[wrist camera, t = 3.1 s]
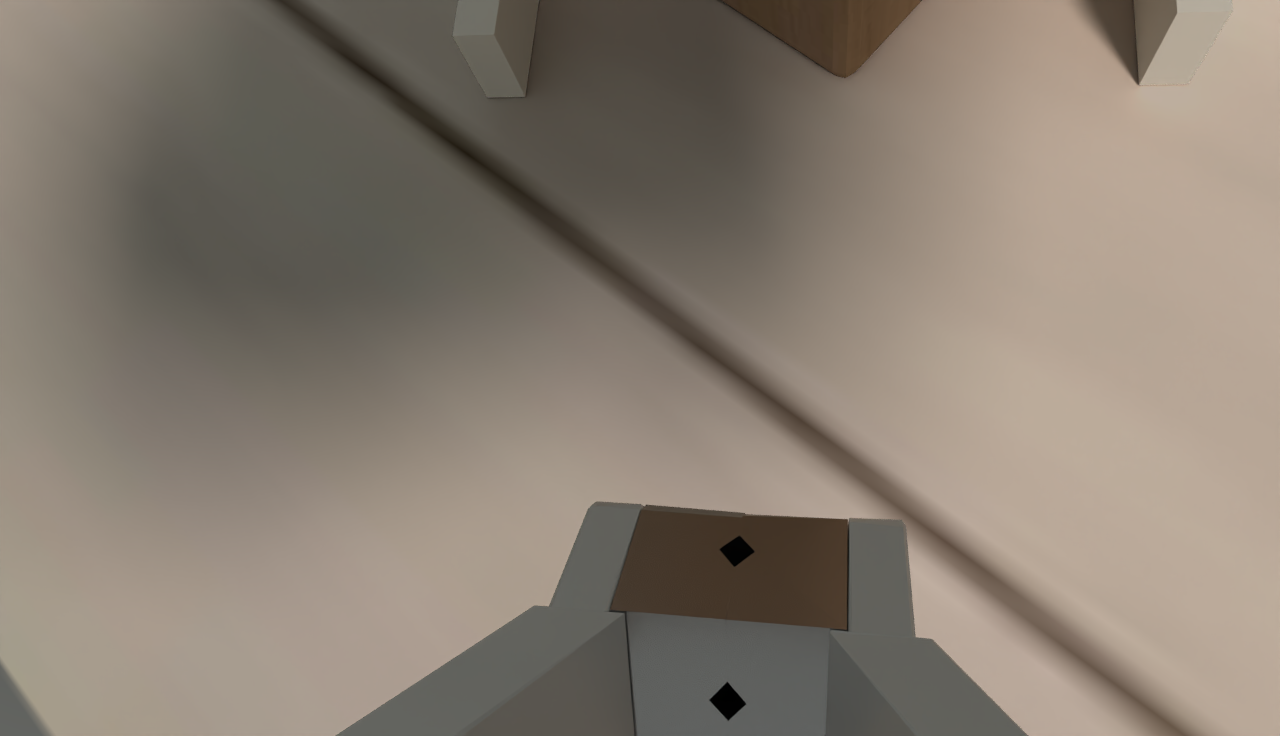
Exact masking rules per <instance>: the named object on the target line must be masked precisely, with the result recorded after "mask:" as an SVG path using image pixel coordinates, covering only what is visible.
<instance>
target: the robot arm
mask: <svg viewBox="0 0 1280 736" xmlns="http://www.w3.org/2000/svg"><path fill="white" fill-rule="evenodd" d="M336 736H1028V735H1027V734H1026V733H1025V732H1024V731H1023V730H1022V729H1021V728H1020V727H1019V726H1018V725H1017V724H1016V723H1015V722H1014V721H1013V720H1012V719H1011V718H1010V717H1009V716H1008V715H1007V714H1006V713H1005V712H1004V711H1003V710H1002V709H1001V708H1000V707H999V706H998V705H997V704H996V703H995V702H994V701H993V700H992V699H991V698H990V697H989V696H988V695H987V694H986V693H985V692H984V691H983V690H982V689H981V688H980V687H979V686H978V685H977V684H976V683H975V682H974V681H973V680H972V679H971V678H970V677H969V676H968V675H967V674H966V673H965V672H964V671H963V670H962V669H961V668H960V667H959V666H958V665H957V664H956V662H955V661H954V660H953V659H952V658H951V657H950V656H949V655H948V654H947V653H946V652H945V651H944V650H943V649H942V648H941V647H940V646H939V645H938V644H937V643H936V642H935V641H934V640H932V639H926V638H916V637H915V625H914V614H913V602H912V591H911V579H910V568H909V556H908V545H907V533H906V525H905V524H904V523H903V521H902V520H893V519H861V518H849V522H848V519H830V518H810V517H791V516H772V515H753V514H745V513H740V512H728V511H716V510H704V509H692V508H680V507H668V506H656V505H645V506H643V505H641V504H629V503H613V502H597V501H596V502H595V503H594V504H593V505H592V506H591V507H590V508H589V509H588V510H587V513H586V515H585V518H584V520H583V523H582V525H581V528H580V530H579V533H578V535H577V538H576V540H575V543H574V545H573V548H572V550H571V553H570V555H569V558H568V560H567V563H566V565H565V568H564V570H563V573H562V575H561V578H560V580H559V583H558V585H557V588H556V590H555V593H554V595H553V598H552V600H551V603H550V605H549V607H547V606H533V607H531V608H530V609H528V610H527V611H525V612H524V613H522V614H521V615H519V616H518V617H516V618H515V619H513V620H512V621H510V622H509V623H507V624H505V625H504V626H502V627H501V628H499V629H498V630H496V631H495V632H493V633H492V634H490V635H489V636H487V637H486V638H484V639H483V640H481V641H479V642H478V643H476V644H475V645H473V646H472V647H470V648H469V649H467V650H466V651H464V652H463V653H461V654H460V655H458V656H457V657H455V658H453V659H452V660H450V661H449V662H447V663H446V664H444V665H443V666H441V667H440V668H438V669H437V670H435V671H434V672H432V673H431V674H429V675H428V676H426V677H424V678H423V679H421V680H420V681H418V682H417V683H415V684H414V685H412V686H411V687H409V688H408V689H406V690H405V691H403V692H402V693H400V694H398V695H397V696H395V697H394V698H392V699H391V700H389V701H388V702H386V703H385V704H383V705H382V706H380V707H379V708H377V709H376V710H374V711H372V712H371V713H369V714H368V715H366V716H365V717H363V718H362V719H360V720H359V721H357V722H356V723H354V724H353V725H351V726H350V727H348V728H347V729H345V730H343V731H342V732H340V733H339V734H337V735H336Z"/></svg>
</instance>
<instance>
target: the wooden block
mask: <svg viewBox="0 0 1280 736" xmlns="http://www.w3.org/2000/svg"><path fill="white" fill-rule="evenodd" d="M722 1H723V2H725V3H726V4H728V5H729V6H731V7H732V8H734V9H735V10H737V11H738V12H740V13H741V14H743V15H744V16H746V17H747V18H749V19H750V20H752V21H754V22H755V23H757V24H758V25H760V26H761V27H763V28H764V29H766V30H767V31H769V32H770V33H772V34H773V35H775V36H776V37H778V38H779V39H781V40H782V41H784V42H786V43H787V44H789V45H790V46H792V47H793V48H795V49H796V50H798V51H799V52H801V53H802V54H804V55H805V56H807V57H808V58H810V59H811V60H813V61H815V62H816V63H818V64H819V65H821V66H822V67H824V68H825V69H827V70H828V71H830V72H831V73H833V74H834V75H836V76H840V77H844V78H846V77H848V76H850V75H851V74H853V73H855V72H856V70H857V69H858V68H859V67H860V66H861V65H862V64H863V63H864V62H865V61H866V60H867V59H868V58H869V57H870V56H871V54H872V53H873V52H874V51H875V50H876V49H877V48H878V47H879V46H880V45H881V44H882V43H883V42H884V40H885V39H886V38H887V37H888V36H889V35H890V34H891V33H892V32H893V31H894V30H895V29H896V28H897V27H898V25H899V24H900V23H901V22H902V21H903V20H904V19H905V18H906V17H907V16H908V15H909V14H910V13H911V11H912V10H913V9H914V8H915V7H916V6H917V5H918V4H919V3H920V2H921V1H922V0H722Z"/></svg>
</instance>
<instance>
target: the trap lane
mask: <svg viewBox="0 0 1280 736" xmlns="http://www.w3.org/2000/svg"><path fill="white" fill-rule="evenodd" d="M538 5H539V0H458V4H457V10H456V16H455V22H454V28H453V34H452V37H453V38H454V40H455V42H456V44H457V46H458V47H459V49H460V51H461V53H462V54H463V56H464V58H465V60H466V61H467V63H468V65H469V67H470V68H471V70H472V72H473V74H474V75H475V77H476V79H477V81H478V82H479V84H480V86H481V88H482V89H483V91H484V93H485V95H486V96H487V98H492V97H525V96H526V89H527V82H528V75H529V68H530V61H531V54H532V47H533V40H534V33H535V26H536V19H537V12H538ZM1232 12H1233V7H1232V0H1134V15H1135V31H1136V46H1137V62H1138V77H1139V85H1176V84H1189V82H1190V81H1191V79H1192V77H1193V76H1194V74H1195V72H1196V71H1197V69H1198V67H1199V66H1200V64H1201V63H1202V61H1203V59H1204V58H1205V56H1206V54H1207V53H1208V51H1209V49H1210V48H1211V46H1212V45H1213V43H1214V41H1215V40H1216V38H1217V36H1218V35H1219V33H1220V31H1221V30H1222V28H1223V27H1224V25H1225V23H1226V22H1227V20H1228V18H1229V17H1230V15H1231V13H1232Z"/></svg>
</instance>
